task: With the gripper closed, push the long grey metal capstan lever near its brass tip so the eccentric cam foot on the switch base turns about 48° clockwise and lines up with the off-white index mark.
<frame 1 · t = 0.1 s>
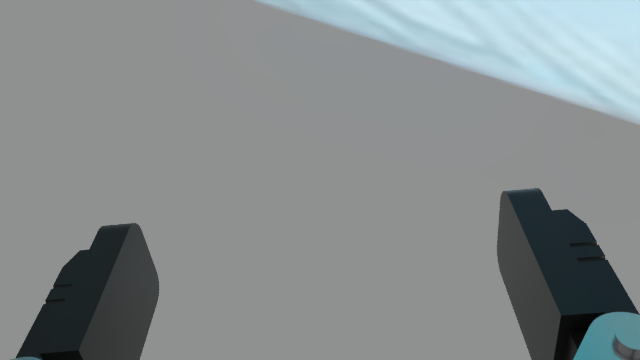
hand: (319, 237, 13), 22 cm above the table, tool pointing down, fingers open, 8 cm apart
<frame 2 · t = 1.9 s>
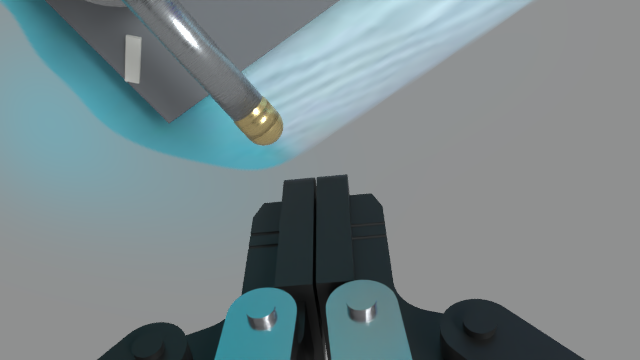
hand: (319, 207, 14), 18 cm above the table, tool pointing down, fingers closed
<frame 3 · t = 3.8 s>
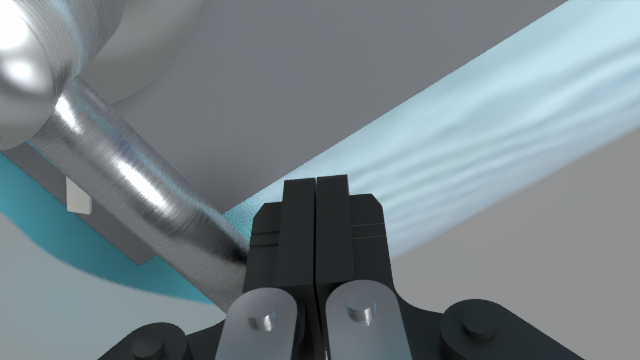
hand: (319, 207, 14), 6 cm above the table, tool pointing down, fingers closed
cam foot: (89, 76, 13), point 5 cm above the table, hinge at -0.2°, touching gripper
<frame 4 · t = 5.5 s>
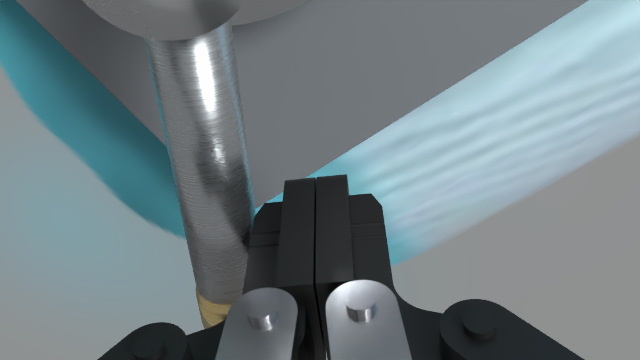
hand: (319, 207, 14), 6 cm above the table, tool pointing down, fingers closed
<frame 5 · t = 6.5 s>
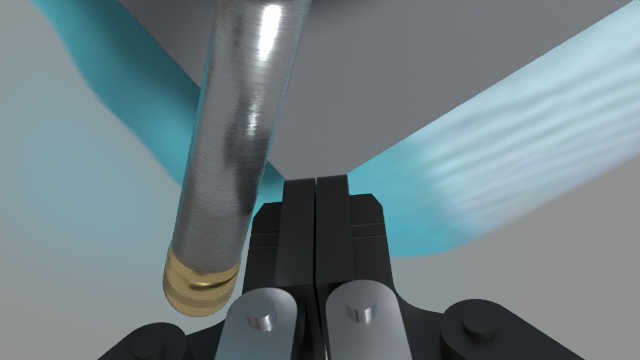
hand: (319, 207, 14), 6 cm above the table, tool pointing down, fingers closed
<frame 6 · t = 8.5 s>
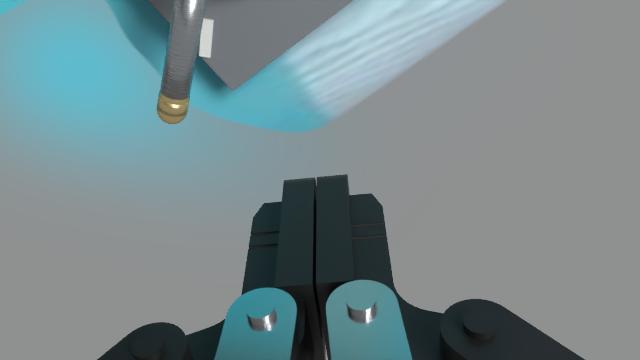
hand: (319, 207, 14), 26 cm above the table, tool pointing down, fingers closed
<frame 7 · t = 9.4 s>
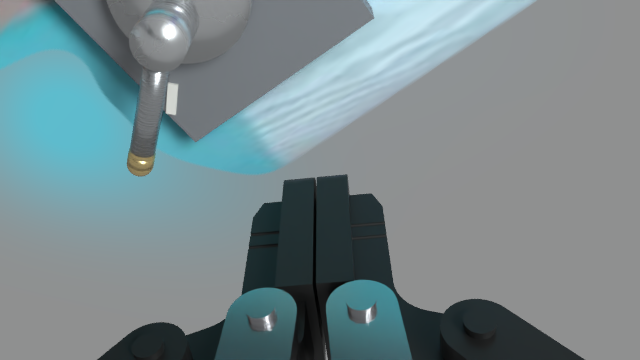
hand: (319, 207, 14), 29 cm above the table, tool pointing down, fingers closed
switch base: (184, 0, 41), on the table
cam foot: (163, 54, 37), point 5 cm above the table, hinge at -53.9°
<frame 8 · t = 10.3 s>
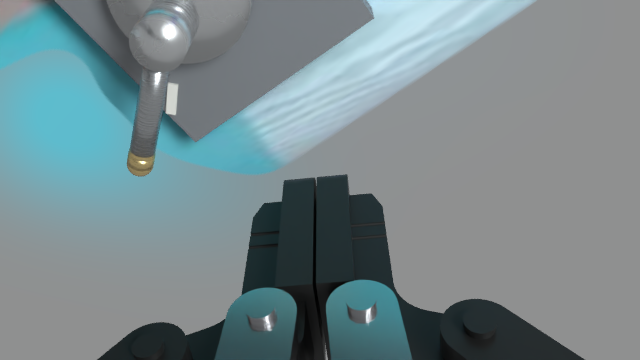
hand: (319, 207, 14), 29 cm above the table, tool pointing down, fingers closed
switch base: (184, 0, 41), on the table
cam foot: (163, 54, 37), point 5 cm above the table, hinge at -53.9°
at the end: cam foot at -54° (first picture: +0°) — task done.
